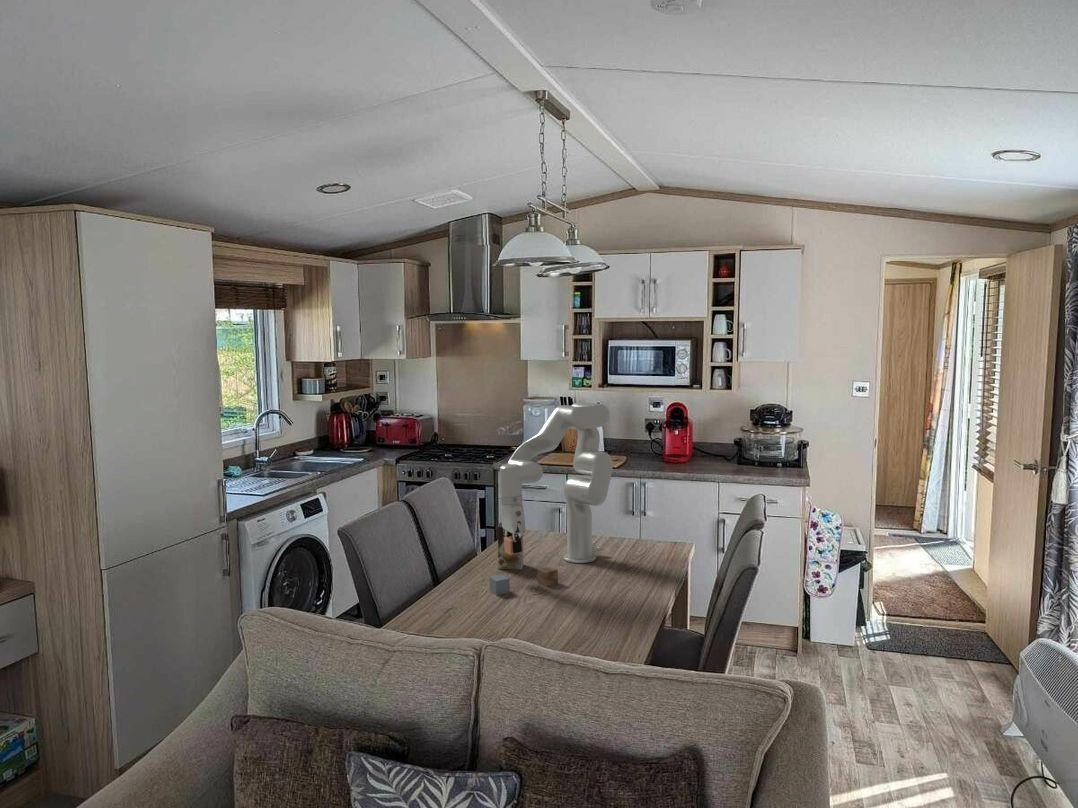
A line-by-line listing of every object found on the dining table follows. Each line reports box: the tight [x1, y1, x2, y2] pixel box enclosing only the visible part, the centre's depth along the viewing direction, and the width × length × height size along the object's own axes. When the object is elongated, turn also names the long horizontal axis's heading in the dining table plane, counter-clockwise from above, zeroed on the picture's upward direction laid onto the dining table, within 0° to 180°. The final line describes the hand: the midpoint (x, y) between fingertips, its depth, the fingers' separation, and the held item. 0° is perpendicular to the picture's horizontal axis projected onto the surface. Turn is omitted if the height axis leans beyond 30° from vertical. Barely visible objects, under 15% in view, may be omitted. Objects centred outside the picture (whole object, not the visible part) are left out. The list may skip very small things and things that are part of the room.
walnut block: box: [537, 565, 559, 587], centre depth 262 cm, size 5×5×5 cm
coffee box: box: [497, 522, 524, 570], centre depth 280 cm, size 9×6×16 cm
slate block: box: [489, 573, 511, 596], centre depth 254 cm, size 5×5×5 cm
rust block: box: [504, 535, 524, 555], centre depth 265 cm, size 5×5×5 cm
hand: (513, 549), depth 265 cm, fingers closed on rust block, 5 cm apart
